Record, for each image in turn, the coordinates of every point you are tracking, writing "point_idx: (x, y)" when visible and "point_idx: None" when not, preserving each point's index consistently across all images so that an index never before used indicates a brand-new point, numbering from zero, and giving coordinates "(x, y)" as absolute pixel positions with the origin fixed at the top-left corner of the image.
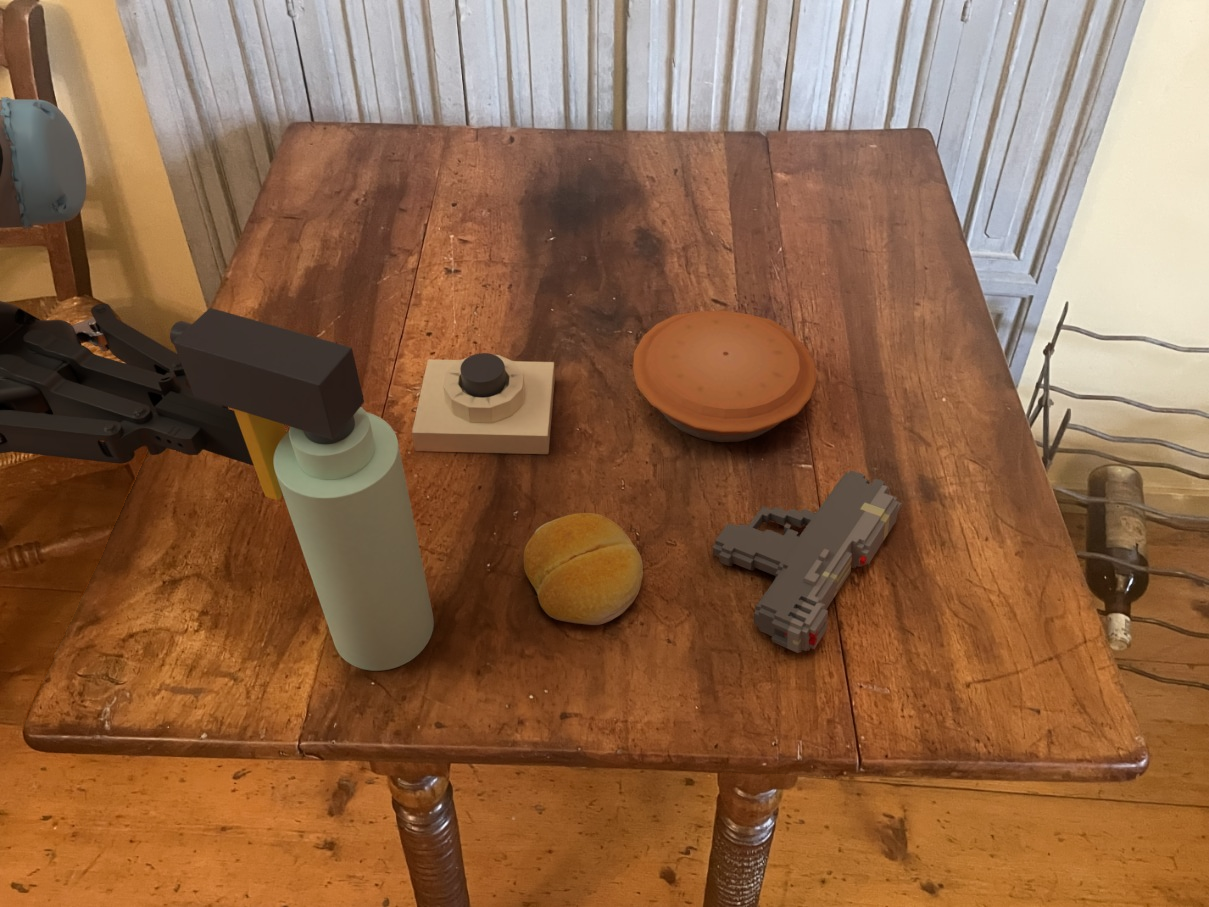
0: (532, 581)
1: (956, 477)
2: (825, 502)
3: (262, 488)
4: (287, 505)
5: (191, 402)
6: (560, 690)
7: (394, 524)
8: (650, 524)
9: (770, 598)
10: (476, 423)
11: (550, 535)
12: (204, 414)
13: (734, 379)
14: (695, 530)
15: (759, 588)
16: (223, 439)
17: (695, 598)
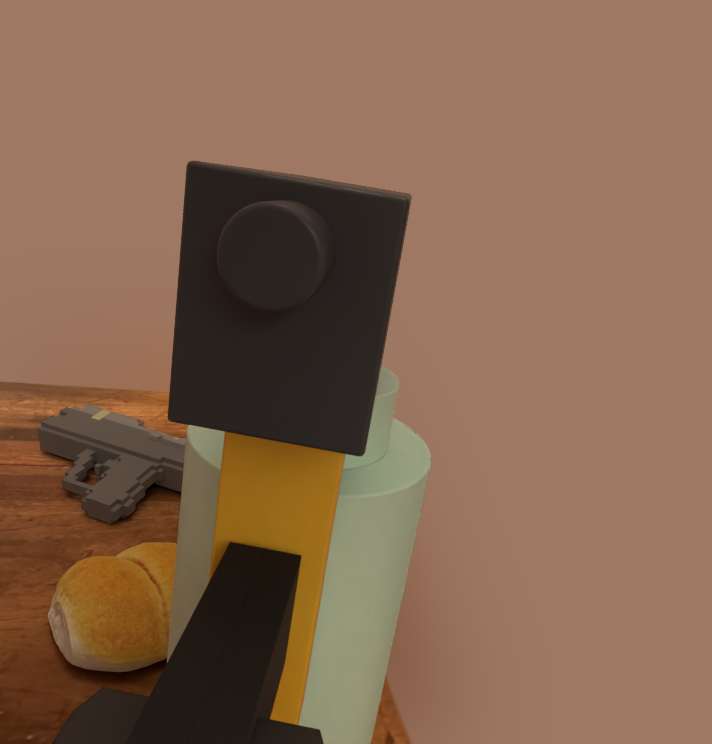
0: (162, 650)
1: (37, 408)
2: (77, 439)
3: (301, 703)
4: (392, 567)
5: (156, 741)
6: None
7: None
8: (51, 569)
9: None
10: None
11: (118, 595)
12: (224, 677)
13: None
14: (70, 536)
15: (157, 502)
16: (275, 667)
17: (170, 538)
